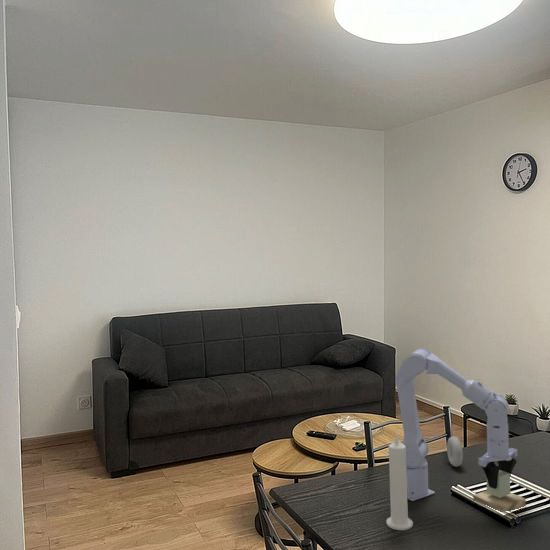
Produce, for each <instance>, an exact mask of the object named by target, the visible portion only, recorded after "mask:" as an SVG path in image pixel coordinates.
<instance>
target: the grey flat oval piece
mask: <svg viewBox="0 0 550 550" xmlns="http://www.w3.org/2000/svg"><path fill="white" fill-rule="evenodd" d="M447 439H448V440H447V443H446V452H447V458H448V461H449V463H450V464H451V466H453V467H455V468H457V467H460V466H461V465H462V463H463V461H464V460H463V459H464V451H463V445H462V442H461V441H460V439H459V437H456V436H450V437H449V438H447Z"/></svg>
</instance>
